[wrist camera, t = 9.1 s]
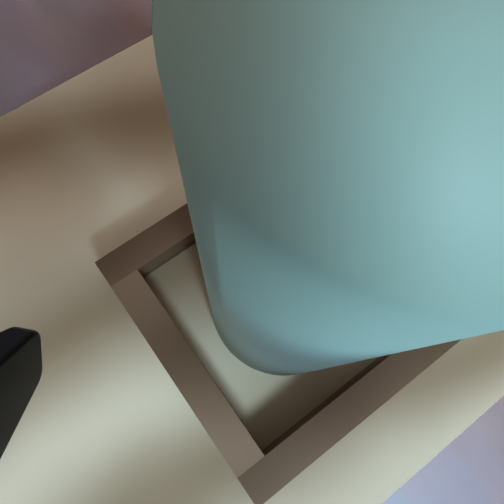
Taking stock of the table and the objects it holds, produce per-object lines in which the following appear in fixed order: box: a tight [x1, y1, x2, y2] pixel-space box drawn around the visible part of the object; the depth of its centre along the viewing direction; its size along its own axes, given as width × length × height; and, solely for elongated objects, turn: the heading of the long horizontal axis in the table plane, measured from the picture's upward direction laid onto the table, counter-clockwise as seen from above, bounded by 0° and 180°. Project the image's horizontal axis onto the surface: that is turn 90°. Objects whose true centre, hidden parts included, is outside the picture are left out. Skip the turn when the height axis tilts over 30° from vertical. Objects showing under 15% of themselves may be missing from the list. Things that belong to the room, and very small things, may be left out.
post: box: [152, 0, 504, 376], centre depth 10 cm, size 5×5×13 cm
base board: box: [0, 35, 504, 504], centre depth 16 cm, size 19×23×3 cm
